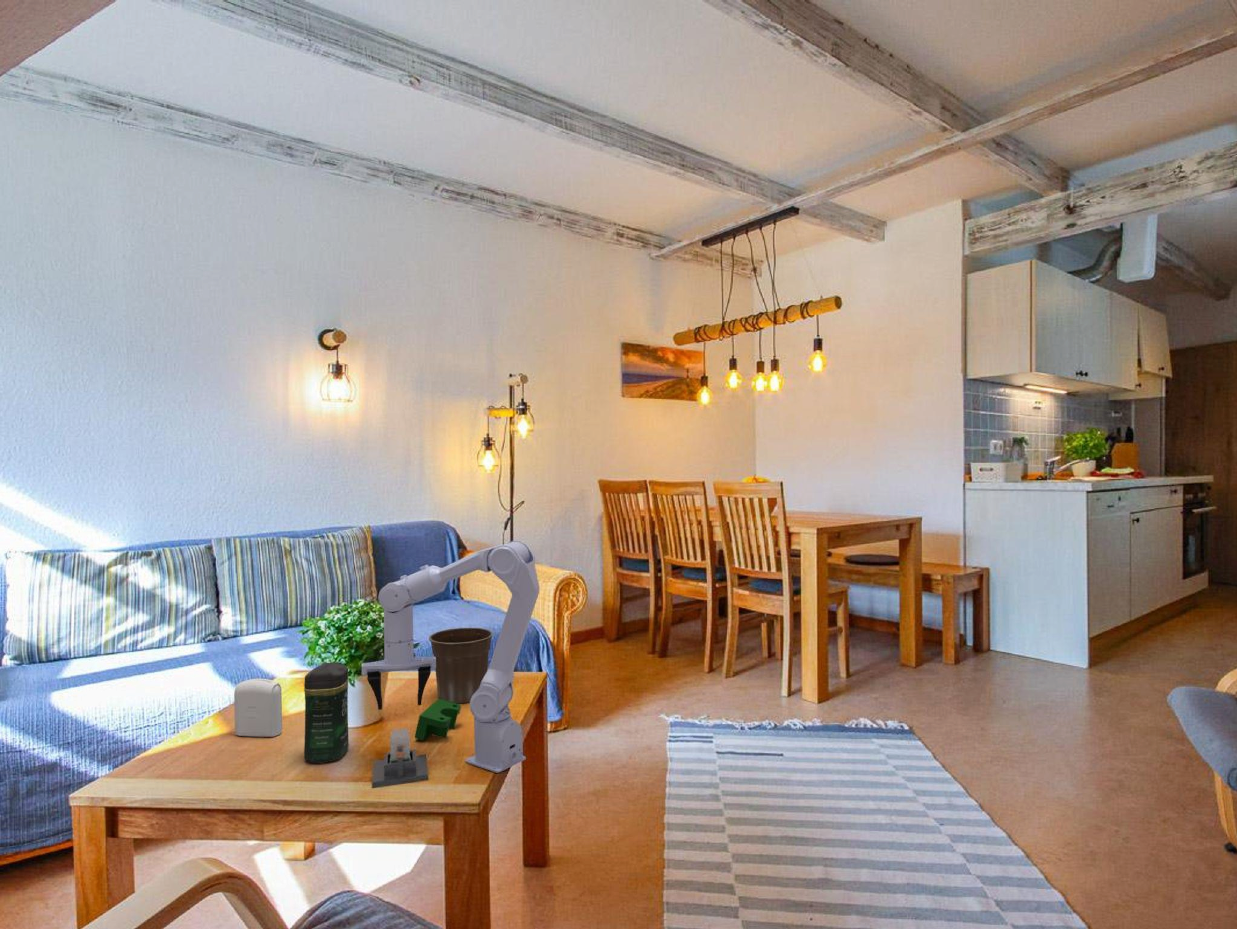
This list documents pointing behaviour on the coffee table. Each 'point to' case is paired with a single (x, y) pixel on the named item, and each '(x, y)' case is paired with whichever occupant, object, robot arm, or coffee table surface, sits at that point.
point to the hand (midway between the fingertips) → (400, 706)
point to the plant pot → (460, 661)
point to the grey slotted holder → (399, 770)
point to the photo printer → (258, 708)
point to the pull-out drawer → (400, 745)
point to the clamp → (437, 719)
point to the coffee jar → (326, 713)
